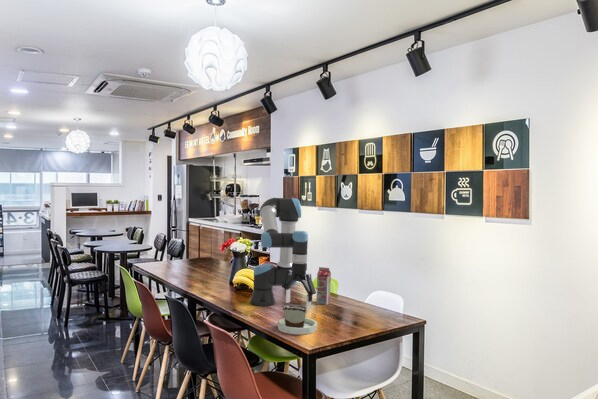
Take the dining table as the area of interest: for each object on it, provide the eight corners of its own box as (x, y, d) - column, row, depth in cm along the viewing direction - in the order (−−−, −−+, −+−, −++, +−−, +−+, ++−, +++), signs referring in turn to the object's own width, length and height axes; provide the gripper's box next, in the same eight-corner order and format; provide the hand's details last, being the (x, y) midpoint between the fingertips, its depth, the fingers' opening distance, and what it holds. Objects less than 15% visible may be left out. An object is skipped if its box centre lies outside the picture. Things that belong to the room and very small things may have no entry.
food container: (309, 325, 214) (310, 305, 214) (306, 329, 208) (306, 308, 208) (286, 323, 218) (287, 303, 218) (282, 326, 212) (282, 306, 212)
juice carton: (319, 301, 271) (320, 266, 270) (329, 302, 268) (331, 267, 268) (316, 303, 264) (317, 267, 264) (326, 304, 262) (327, 268, 262)
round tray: (270, 328, 212) (270, 322, 212) (295, 320, 226) (295, 315, 226) (299, 337, 199) (299, 330, 199) (324, 328, 214) (324, 322, 214)
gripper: (275, 259, 218) (274, 301, 218) (314, 266, 202) (312, 311, 202) (285, 258, 223) (284, 299, 224) (324, 265, 207) (322, 308, 208)
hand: (297, 305), depth 213 cm, fingers open, 13 cm apart
